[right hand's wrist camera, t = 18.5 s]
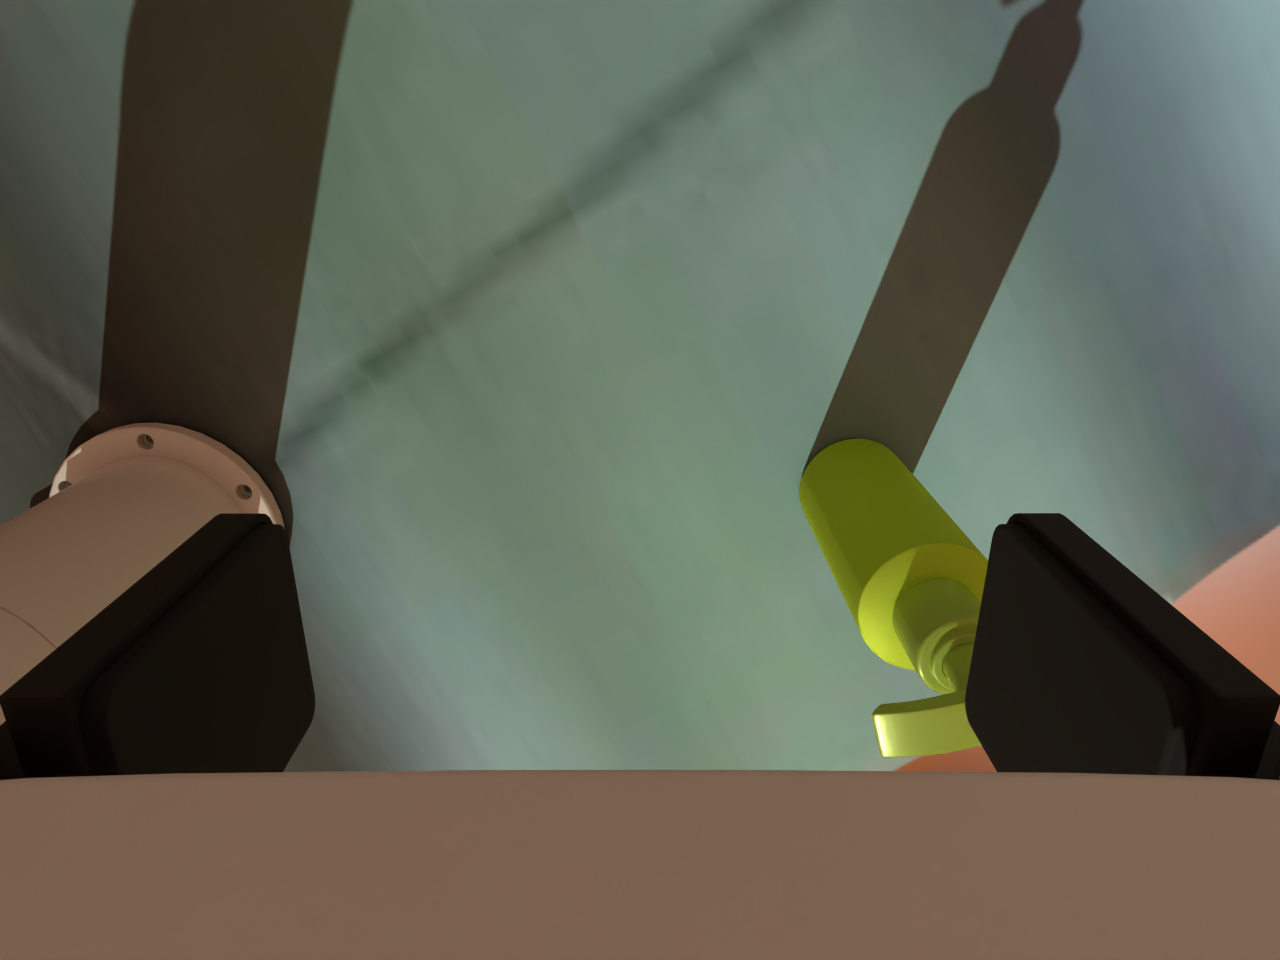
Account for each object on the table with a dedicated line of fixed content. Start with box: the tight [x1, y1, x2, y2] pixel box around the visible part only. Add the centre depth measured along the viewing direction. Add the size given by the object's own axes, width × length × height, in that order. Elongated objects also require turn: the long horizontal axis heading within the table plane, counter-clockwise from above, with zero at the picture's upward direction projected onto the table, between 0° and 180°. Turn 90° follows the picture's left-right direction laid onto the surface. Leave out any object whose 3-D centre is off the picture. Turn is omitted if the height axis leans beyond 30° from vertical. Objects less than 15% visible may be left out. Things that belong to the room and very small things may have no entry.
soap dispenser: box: [800, 439, 988, 757], centre depth 36 cm, size 6×7×20 cm
